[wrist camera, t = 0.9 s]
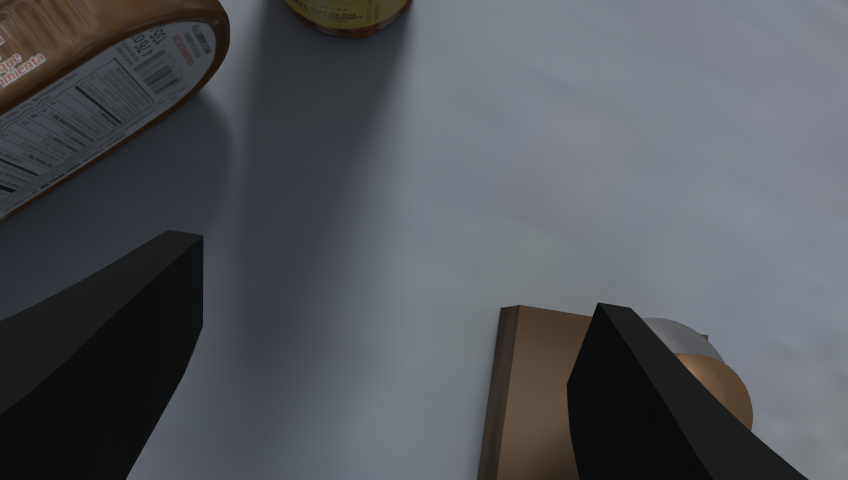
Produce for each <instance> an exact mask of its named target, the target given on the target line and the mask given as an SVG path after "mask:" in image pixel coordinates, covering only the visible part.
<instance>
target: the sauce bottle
mask: <svg viewBox="0 0 848 480" xmlns="http://www.w3.org/2000/svg"><path fill="white" fill-rule="evenodd" d="M284 1H285V2H286V5H287V6H288V7H289V8H290V10H291V11H292V12H293V13H294V15H295V16H296V17H297V18H298V19H299V20H300V21H301V22H302V23H303V24H305V25H307V26H309V27H312V28H314V29H317V30H319V31H321V32H324V33H327V34H330V35H335V36H339V37H351V38H362V37H366V36H368V35H370V34H372V33H374V32H377V31H380V30H382V29H383V28H384V27H385V26H387V25H388V24H390V23H392V22H393V21H394V20H395V19H396V18H397V17H398V16H399V15H401V14H402V13H403V12H404V11H405V10H406V9H407V8H408V7H409V5H410V3H411V1H412V0H284Z"/></svg>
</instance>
